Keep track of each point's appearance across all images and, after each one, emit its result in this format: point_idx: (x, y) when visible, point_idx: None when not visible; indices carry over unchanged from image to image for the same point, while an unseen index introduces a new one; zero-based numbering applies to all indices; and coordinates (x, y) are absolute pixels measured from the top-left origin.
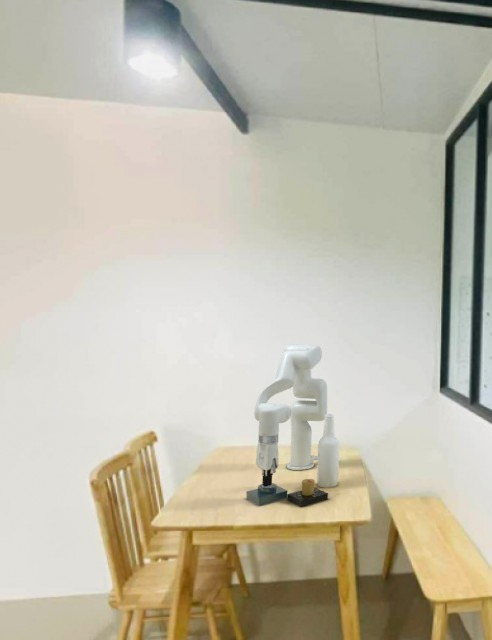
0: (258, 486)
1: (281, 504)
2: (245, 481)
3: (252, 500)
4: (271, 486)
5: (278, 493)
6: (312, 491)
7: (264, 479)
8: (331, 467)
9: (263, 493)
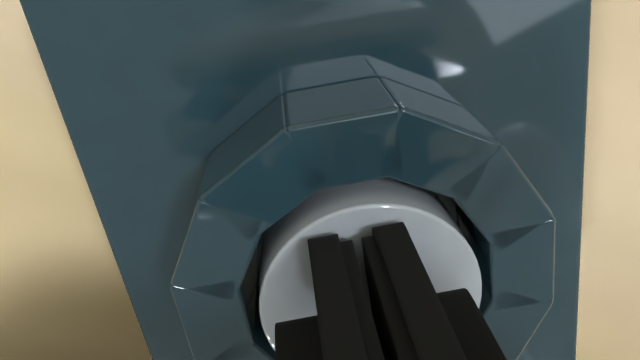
0: (448, 135)
1: (4, 280)
2: None
3: None
4: None
5: (152, 353)
6: None
7: (322, 350)
8: None
9: (220, 146)
